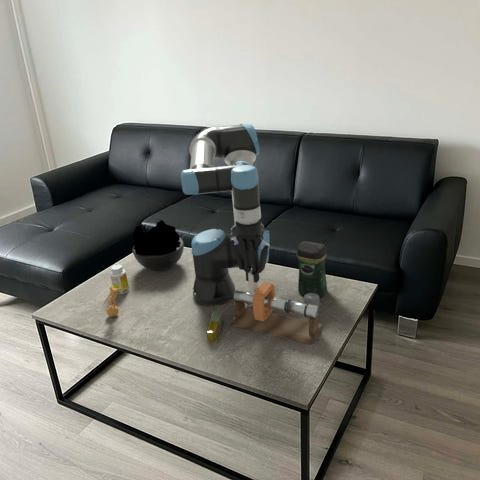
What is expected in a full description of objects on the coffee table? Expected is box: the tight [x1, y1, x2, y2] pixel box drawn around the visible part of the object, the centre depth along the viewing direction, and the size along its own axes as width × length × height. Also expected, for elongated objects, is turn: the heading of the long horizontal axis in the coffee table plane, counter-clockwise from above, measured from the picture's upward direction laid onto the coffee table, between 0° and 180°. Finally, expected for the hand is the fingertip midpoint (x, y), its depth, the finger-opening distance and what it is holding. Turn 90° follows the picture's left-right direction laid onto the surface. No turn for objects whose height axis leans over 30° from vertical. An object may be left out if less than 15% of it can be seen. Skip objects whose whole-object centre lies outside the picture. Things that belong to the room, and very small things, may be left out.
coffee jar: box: [296, 240, 328, 298], centre depth 163 cm, size 10×8×19 cm
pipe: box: [233, 289, 318, 318], centre depth 147 cm, size 27×4×4 cm, turn 63°
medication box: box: [206, 309, 224, 343], centre depth 150 cm, size 12×3×4 cm, turn 172°
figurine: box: [103, 286, 121, 318], centre depth 160 cm, size 8×6×12 cm
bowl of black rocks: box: [132, 219, 185, 272], centre depth 187 cm, size 20×20×19 cm
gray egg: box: [303, 293, 320, 314], centre depth 154 cm, size 5×5×6 cm
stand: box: [230, 301, 323, 345], centre depth 149 cm, size 27×9×7 cm, turn 63°
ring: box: [252, 281, 276, 321], centre depth 148 cm, size 3×10×10 cm, turn 153°
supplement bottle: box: [109, 264, 130, 295], centre depth 175 cm, size 6×6×10 cm
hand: (253, 290), depth 148 cm, fingers closed
